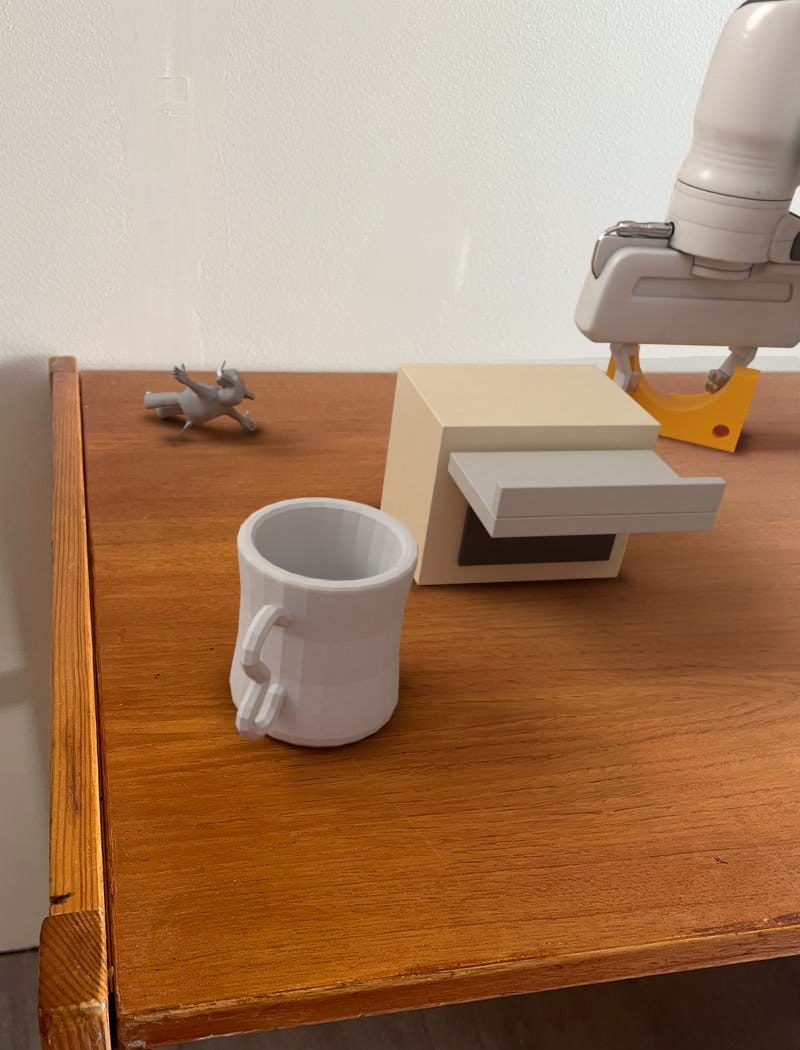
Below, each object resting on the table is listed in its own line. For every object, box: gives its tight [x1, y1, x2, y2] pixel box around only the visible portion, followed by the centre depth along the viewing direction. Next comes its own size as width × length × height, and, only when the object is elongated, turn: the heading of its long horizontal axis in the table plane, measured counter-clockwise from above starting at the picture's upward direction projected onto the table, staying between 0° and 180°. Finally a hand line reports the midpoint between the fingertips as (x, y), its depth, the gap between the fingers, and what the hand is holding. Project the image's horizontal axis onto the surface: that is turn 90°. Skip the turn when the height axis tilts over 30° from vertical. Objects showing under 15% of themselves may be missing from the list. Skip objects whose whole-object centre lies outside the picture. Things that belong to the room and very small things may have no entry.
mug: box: [229, 496, 419, 748], centre depth 52 cm, size 12×9×10 cm
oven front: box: [379, 362, 728, 586], centre depth 65 cm, size 14×18×11 cm
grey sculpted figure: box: [143, 360, 256, 440], centre depth 81 cm, size 10×6×9 cm
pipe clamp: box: [605, 344, 761, 453], centre depth 90 cm, size 12×4×6 cm, turn 66°
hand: (670, 391), depth 90 cm, fingers closed on pipe clamp, 7 cm apart
